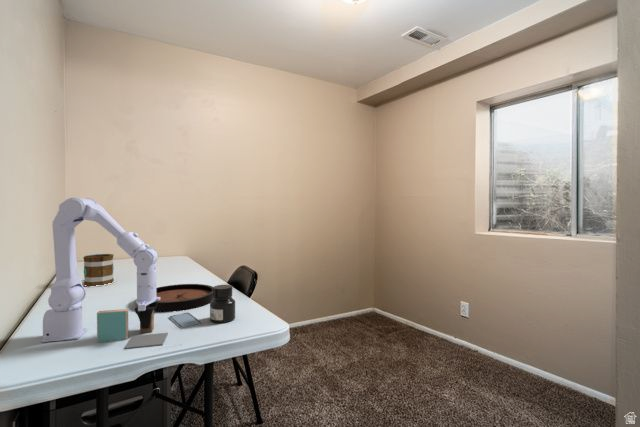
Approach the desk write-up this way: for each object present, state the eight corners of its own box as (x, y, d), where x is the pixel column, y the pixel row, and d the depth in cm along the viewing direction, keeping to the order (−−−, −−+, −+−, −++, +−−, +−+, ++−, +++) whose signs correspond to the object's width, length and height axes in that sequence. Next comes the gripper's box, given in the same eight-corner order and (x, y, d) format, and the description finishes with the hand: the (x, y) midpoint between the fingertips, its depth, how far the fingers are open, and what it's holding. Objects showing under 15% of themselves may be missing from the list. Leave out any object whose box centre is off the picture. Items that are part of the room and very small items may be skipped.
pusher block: (140, 333, 107) (139, 312, 107) (142, 329, 110) (142, 308, 110) (151, 332, 108) (151, 311, 108) (153, 328, 111) (153, 308, 111)
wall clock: (145, 286, 154) (215, 281, 164) (145, 295, 154) (215, 290, 164) (128, 305, 124) (215, 298, 134) (128, 316, 124) (215, 308, 134)
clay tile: (96, 342, 100) (96, 313, 99) (99, 340, 102) (99, 311, 101) (126, 339, 102) (126, 310, 102) (128, 337, 104) (128, 308, 104)
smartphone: (181, 328, 110) (168, 316, 122) (181, 330, 111) (168, 318, 122) (203, 323, 115) (188, 312, 127) (203, 325, 115) (188, 314, 127)
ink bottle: (206, 318, 121) (206, 285, 121) (229, 313, 127) (229, 282, 127) (215, 325, 114) (215, 291, 113) (239, 320, 119) (239, 287, 119)
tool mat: (124, 349, 95) (124, 347, 95) (133, 337, 104) (133, 335, 104) (162, 345, 98) (162, 343, 98) (167, 333, 106) (167, 332, 106)
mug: (117, 283, 174) (117, 255, 174) (86, 288, 165) (86, 258, 164) (107, 278, 188) (107, 252, 188) (78, 282, 178) (78, 254, 178)
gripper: (155, 289, 103) (155, 332, 103) (163, 279, 117) (164, 317, 117) (130, 291, 101) (130, 335, 101) (141, 280, 115) (142, 319, 115)
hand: (147, 326), depth 109 cm, fingers closed on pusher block, 3 cm apart
